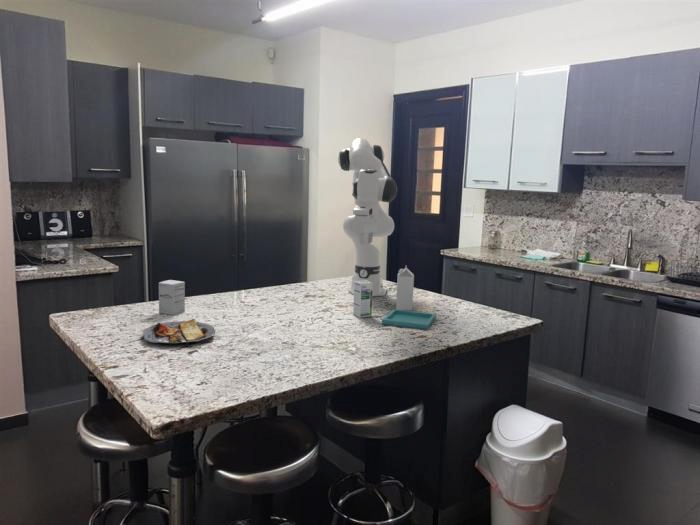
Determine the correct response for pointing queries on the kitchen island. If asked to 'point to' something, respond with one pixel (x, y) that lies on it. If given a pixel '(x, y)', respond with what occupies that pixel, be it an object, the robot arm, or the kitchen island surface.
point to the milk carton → (404, 290)
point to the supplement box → (171, 297)
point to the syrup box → (362, 298)
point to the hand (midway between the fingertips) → (366, 244)
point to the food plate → (185, 330)
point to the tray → (409, 319)
